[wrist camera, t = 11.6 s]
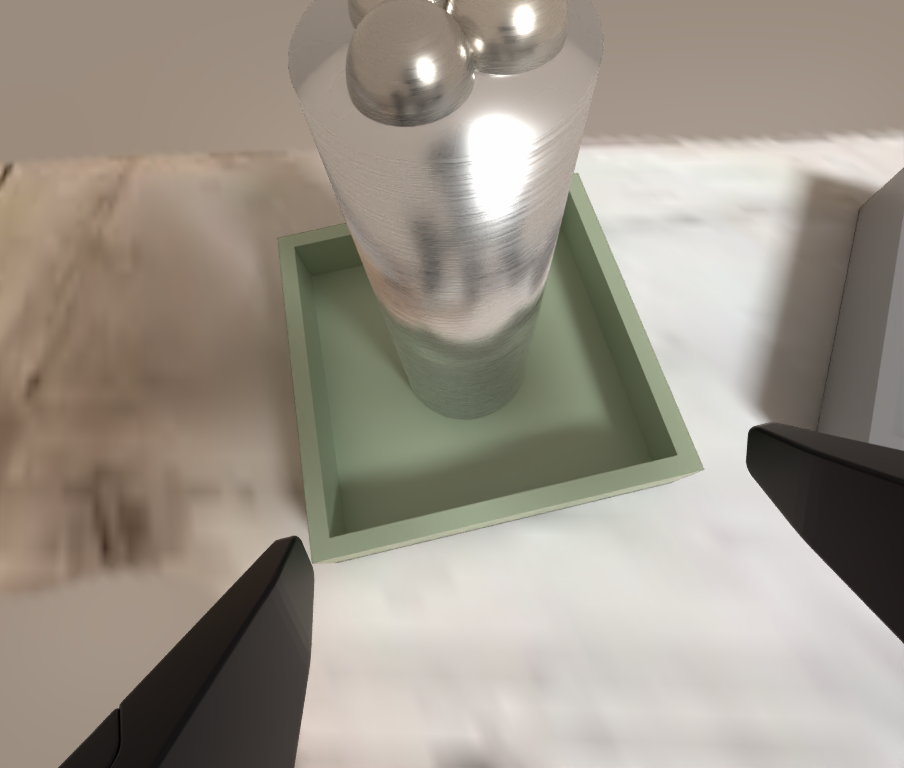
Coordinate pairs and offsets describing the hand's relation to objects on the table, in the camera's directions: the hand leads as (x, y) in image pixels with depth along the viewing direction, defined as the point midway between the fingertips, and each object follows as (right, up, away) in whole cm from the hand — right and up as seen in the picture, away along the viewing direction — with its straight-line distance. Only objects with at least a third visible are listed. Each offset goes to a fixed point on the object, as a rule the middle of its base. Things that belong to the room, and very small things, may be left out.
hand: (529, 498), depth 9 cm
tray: (-1, +3, +10) cm, 10 cm away
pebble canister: (-1, +3, +9) cm, 10 cm away
